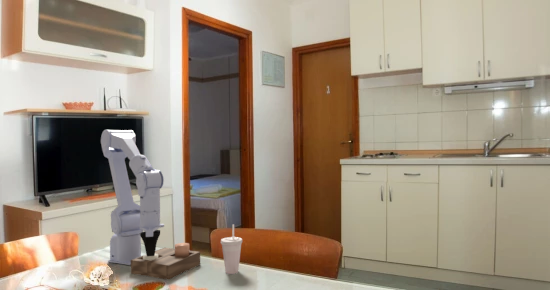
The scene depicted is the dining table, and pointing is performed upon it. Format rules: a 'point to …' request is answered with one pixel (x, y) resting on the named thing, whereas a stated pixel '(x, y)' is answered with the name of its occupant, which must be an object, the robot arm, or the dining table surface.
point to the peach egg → (182, 250)
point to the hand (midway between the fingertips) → (150, 255)
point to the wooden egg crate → (165, 264)
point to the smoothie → (231, 252)
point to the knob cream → (150, 257)
